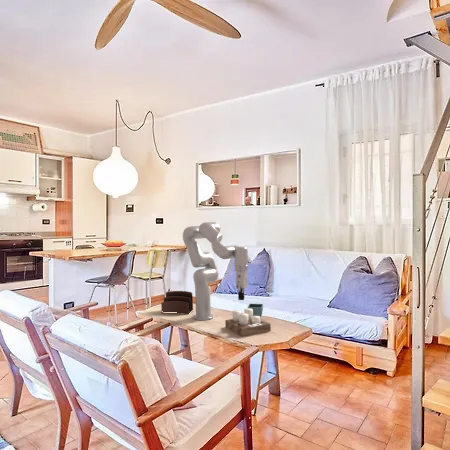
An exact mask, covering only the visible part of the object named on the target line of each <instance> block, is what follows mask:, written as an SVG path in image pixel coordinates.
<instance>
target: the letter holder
mask: <svg viewBox="0 0 450 450" xmlns="http://www.w3.org/2000/svg"><path fill="white" fill-rule="evenodd" d="M193 302H194V299H193V292H192V291H186V290H170V291H165V297H163V301H162V302H161V307H160V308H161V311H163V312H177V313H187V314H186V315H190V314H191V313H192V312H193V311H194V303H193ZM192 310H193V311H192ZM191 311H192V312H191ZM190 312H191V313H190ZM189 313H190V314H189Z"/></svg>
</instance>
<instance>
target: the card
mask: <svg viewBox="0 0 450 450" xmlns="http://www.w3.org/2000/svg"><path fill="white" fill-rule="evenodd" d="M261 325H262V324H259V323H255V324H250V325H248V326H250V327H255V326H261Z"/></svg>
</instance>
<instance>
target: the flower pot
mask: <svg viewBox="0 0 450 450" xmlns="http://www.w3.org/2000/svg"><path fill="white" fill-rule="evenodd" d="M247 308H250V309H253V316H260V319H261V320H262V316H263V312H264V311H263V310H264V303H249V304H248V305H247Z"/></svg>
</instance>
